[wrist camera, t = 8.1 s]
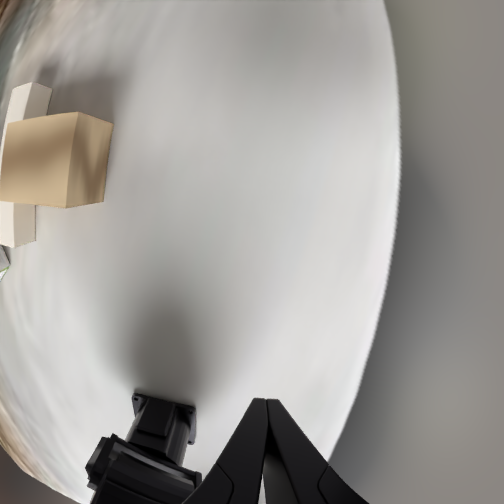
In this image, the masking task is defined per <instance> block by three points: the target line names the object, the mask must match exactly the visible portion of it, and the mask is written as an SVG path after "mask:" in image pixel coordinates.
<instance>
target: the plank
mask: <svg viewBox="0 0 504 504" xmlns="http://www.w3.org/2000/svg"><path fill="white" fill-rule="evenodd" d="M52 90H53V89H51V88H49V87H46V86H43V85H40V84H38V83H35V82H30V83H27V84H24V85H21V86H18V87H15V88H13V91H12V95H11V99H10V103H9V107H8V111H7V115H6V120H5V125H4V130H3V136H2V142H1V149H0V175H1V164H2V155H3V148H4V141H5V135H6V130H7V125H8V123H11V122H16V121H20V120H25V119H30V118H36V117H42V116H46V114H47V110H48V105H49V101H50V97H51V93H52ZM33 241H36V239H35V205H32V204H23V203H14V202H5V201H0V244H1V245H5V246H8V247H12V248H16V247H19V246H22V245H25V244H27V243H30V242H33Z"/></svg>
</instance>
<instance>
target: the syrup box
mask: <svg viewBox="0 0 504 504" xmlns="http://www.w3.org/2000/svg"><path fill="white" fill-rule="evenodd" d="M9 267H10V263H9V261H8V259H7V256H6V254H5V252H4V249H3V247H2V245H1V244H0V281H1V279H2V278H3V276H4V274H5V273H6V271H7V270H8V268H9Z"/></svg>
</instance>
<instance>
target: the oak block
mask: <svg viewBox="0 0 504 504" xmlns="http://www.w3.org/2000/svg"><path fill="white" fill-rule="evenodd" d="M113 126H114V124H112V123H109V122H107V121H104V120H101V119H98V118H96V117H93V116H90V115H87V114H84V113H81V112H70V113H62V114H55V115H48V116H42V117H36V118H30V119H25V120H20V121H16V122H11V123H8V125H7V130H6V135H5V141H4V148H3V155H2V164H1V175H0V201H5V202H14V203H23V204H32V205H41V206H50V207H58V208H71V207H76V206H81V205H87V204H93V203H99V202H103V199H104V188H105V179H106V170H107V163H108V156H109V149H110V143H111V137H112V131H113Z"/></svg>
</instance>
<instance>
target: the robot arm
mask: <svg viewBox="0 0 504 504" xmlns="http://www.w3.org/2000/svg"><path fill="white" fill-rule="evenodd" d="M132 403H133V409H134V414H135V420H134V422H133V424H132V426H131V428H130V431H129V433H128V435H127V437H126V439H125V441H124V440H123V439H121V438H119V437H118V436H117V435H115V434H114V433H112V435H111V437H110V438H109V437H108V438H107V437H102V438H101V440H100V442H99V444H98V445H97V447H96V449H95V451H94V453H93V454H92V456H91V458H90V459H89V461H88V463H87V465H86V467H85V469H86V471H87V474H88V479H89V483H88V485H87V487H89V488H91V489H93V490H94V491H95V492H94V494H93V496H92V498H91V501H90V504H258V500H259V494H260V487H261V480H262V474H263V480H264V489H265V497H266V504H369V503H368V502H367V501H365V500H364V499H363V498H362V497H361V496H359V495H358V494H357V493H356V492H355V491H354V490H353V489H351V488H350V487H349V486H348V485H347V484H346V483H345V482H344V481H343V480H342V479H341V478H340V477H339V475H338V474H337V473H336V472H335V471H334V470H333V468H332V467H331V466H328V465H329V464H328V463H327V461H326V460H325V459H324V458H323V456H322V455H321V454H320V453H319V452H318V450H317V449H316V448H315V447H314V445H313V444H312V443H311V441H310V440H309V439H308V438H307V436H306V435H305V434H304V433H303V431H302V430H301V429H300V427H299V426H298V425H297V423H296V422H295V421H294V419H293V418H292V417H291V415H290V414H289V413H288V411H287V410H286V409H285V407H284V406H283V405H282V403H281V402H280V401H279V400H278V399H265V398H253V400H252V402H251V403H250V405H249V407H248V409H247V411H246V412H245V414H244V416H243V418H242V419H241V421H240V423H239V425H238V426H237V428H236V430H235V431H234V433H233V435H232V436H231V438H230V440H229V441H228V443H227V445H226V446H225V448H224V450H223V451H222V453H221V455H220V456H219V458H218V459H217V461H216V463H215V464H214V465H213V467H212V469H211V470H210V472H209V473H208V474H207V476H206V477H205V479H204V480H203V481H202V474H201V473H199V472H196V471H195V472H194V471H191V470H189V469H186V468H183V467H182V464H183V460H184V456H185V452H186V447H187V444H189V445H193V444H194V443H195V422H196V409H195V408H194V407H192V406H187V405H182V404H177V403H173V402H168V401H164V400H160V399H156V398H152V397H148V396H145V395H141V394H137V393H134V394H133V395H132Z"/></svg>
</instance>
